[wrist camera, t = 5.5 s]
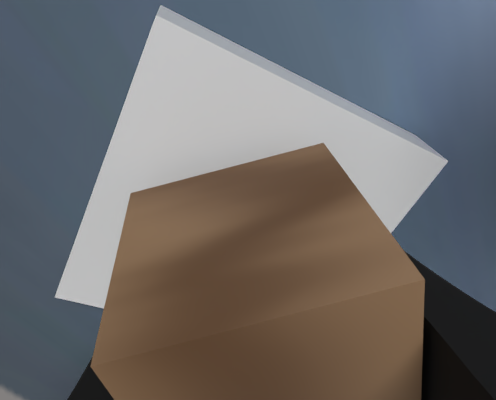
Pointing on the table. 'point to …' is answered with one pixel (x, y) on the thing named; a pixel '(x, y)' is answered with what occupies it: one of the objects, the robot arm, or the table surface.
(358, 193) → the walnut cube
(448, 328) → the robot arm
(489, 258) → the table surface
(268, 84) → the white slab
